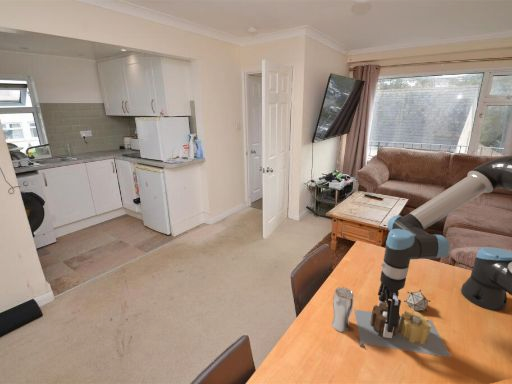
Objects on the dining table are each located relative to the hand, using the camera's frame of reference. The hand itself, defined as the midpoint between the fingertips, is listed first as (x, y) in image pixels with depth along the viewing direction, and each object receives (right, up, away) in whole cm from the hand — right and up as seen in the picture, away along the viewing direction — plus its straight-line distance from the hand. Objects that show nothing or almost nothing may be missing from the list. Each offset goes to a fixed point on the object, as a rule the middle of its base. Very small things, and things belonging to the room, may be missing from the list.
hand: (383, 325), depth 97 cm
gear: (+10, -2, -1) cm, 10 cm away
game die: (+19, +1, +12) cm, 22 cm away
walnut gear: (0, 0, 0) cm, 0 cm away
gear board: (+5, -3, 0) cm, 6 cm away
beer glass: (-15, -2, +4) cm, 15 cm away
